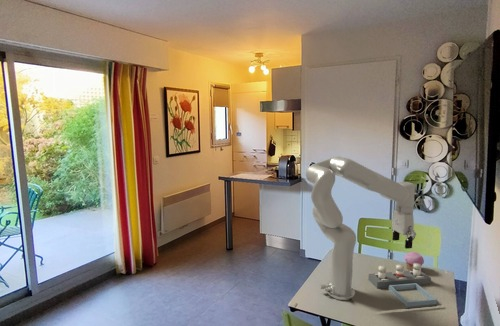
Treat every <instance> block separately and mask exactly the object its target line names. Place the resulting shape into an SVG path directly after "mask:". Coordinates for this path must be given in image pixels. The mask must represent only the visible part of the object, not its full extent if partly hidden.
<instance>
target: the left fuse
mask: <svg viewBox="0 0 500 326" xmlns="http://www.w3.org/2000/svg"><path fill="white" fill-rule="evenodd" d="M377 271H378V272H377V273H378V278H379V279H380V280H381V279H385V278H386V273H387V267H386V266H385V265H378V270H377Z"/></svg>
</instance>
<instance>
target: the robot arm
mask: <svg viewBox="0 0 500 326" xmlns="http://www.w3.org/2000/svg"><path fill="white" fill-rule="evenodd" d="M336 176H338V177H340V178H343V179H345V180H347V181H349V182H351V183H353V184H355V185H357V186H359V187H361V188H363V189H365V190H367V191H370V192H374V193H377V194H379V195H380V196H381V197H383V198H384V199H387V200H390V201H393V202H395V206H394V207H395V208H394V211H393V216H392V220H391V221H390V223H391V228H392V230H391V231H392V241H399V240H400V235H401V236H405V242H404V248H405V249H406V250H407V249H412V248H413V241H414V240H415V238H416V236H417V233H416V231H415V230H414V225H415V224H414V219H415V218H414V205H415V190H416V186H415V184H414V183H412V182H410V181H400V182H397V181H396V180H393V179H391V178H389V177H386V176H384V175H382V174H380V173H378V172H376V171H374V170H372V169H370V168H368V167H366V166H364V165H362V164H360V163H359V162H357V161H355V160H353V159H350V158H348V157H347V158H346V157H341V156H334V157H330V158H327V159H325V160H322V161H319V162H316V163H313V164H311V165H310V166H308V167H307V169H306V171H305V179H306V180H307V181H308V182H309V183H311V184H313V186H312V190H311V194H310V195H311V197H310V198H311V203H312V204H313V208H312V217H313V218H314V220H315V223H316V224H317V226H318V227H319V229H320V231H321V232H322V234H324V236H325V238H327V239H328V240H329V241H331V242H332V243H333V248H332V249H331V253H330V272H329V274H330V275H329V277H330V278H329V280H328V281H327V283H326V284H319V290H324V292H326V294H328V295H329V297H331V298H334V299H336V300H339V301H349V300H351V299H352V298H354V296H355V295H356V290H355V289H354V288H353V271H354V270H353V269H354V268H353V267H354V252H355V247H356V244H357V243H356V242H357V235H356V232H355V231H354V230H353V229H352V228H351V227H350V226H348V225H346V224H345V223H344V219H343V218H344V217H343V214H342V211H341V210H340V209H339V207H338V205H337V204H336V202H335V200H334V198H333V196H332V190H333V187H334V184H335V183H336Z"/></svg>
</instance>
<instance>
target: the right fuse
mask: <svg viewBox="0 0 500 326" xmlns="http://www.w3.org/2000/svg"><path fill="white" fill-rule="evenodd" d="M421 271H422V266H421V264H418V263H414V264H413V276H415V277H417V276H420V274H421Z"/></svg>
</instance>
